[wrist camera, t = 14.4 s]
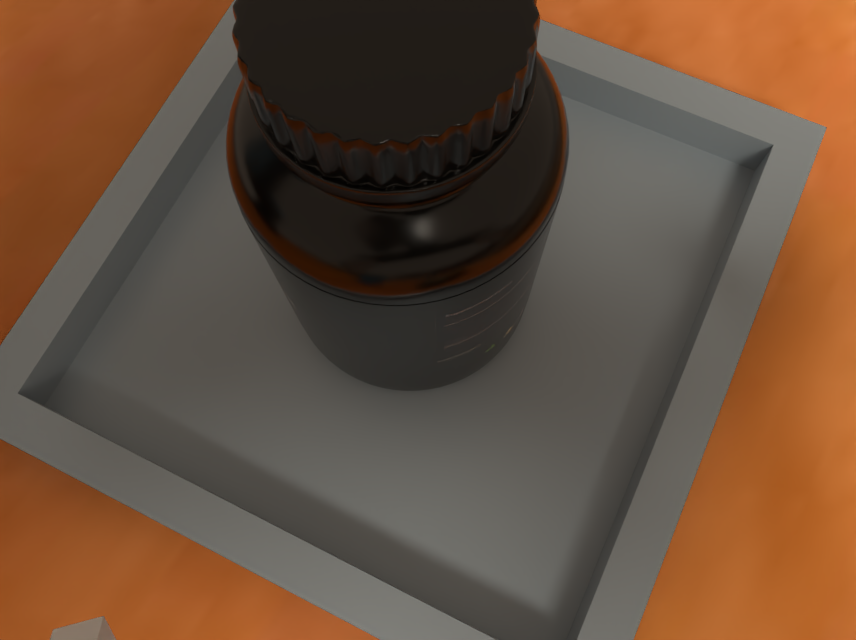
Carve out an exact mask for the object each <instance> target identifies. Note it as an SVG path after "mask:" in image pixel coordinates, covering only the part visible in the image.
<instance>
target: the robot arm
mask: <svg viewBox="0 0 856 640" xmlns="http://www.w3.org/2000/svg"><path fill="white" fill-rule="evenodd" d="M50 640H116V638H115V637H114V635H113V633H112V631H111V629H110V627H109V625H108V623H107V621H106V619H105V618H104V616H102V617H98V618H94V619H90V620H87V621H83V622H79V623H76V624H72V625H68V626H65V627H61V628H57V629H54V630H53V632H52V635H51V638H50Z"/></svg>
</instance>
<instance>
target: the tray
mask: <svg viewBox="0 0 856 640" xmlns="http://www.w3.org/2000/svg"><path fill="white" fill-rule="evenodd" d="M234 2H235V0H234V1H233V3H232V4H231V6H230V7H229V9H228V10H227V12H226V13H225V15H224V16H223V17H222V19H221V20H220V22H219V23H218V25H217V26H216V28H215V29H214V31H213V32H212V34H211V35H210V37H209V38H208V40H207V41H206V43H205V44H204V46H203V47H202V48H201V50H200V51H199V53H198V54H197V56H196V57H195V59H194V60H193V62H192V63H191V65H190V66H189V68H188V69H187V71H186V72H185V74H184V75H183V77H182V78H181V79H180V81H179V82H178V84H177V85H176V87H175V88H174V90H173V91H172V93H171V94H170V96H169V97H168V99H167V100H166V102H165V103H164V105H163V106H162V108H161V109H160V110H159V112H158V113H157V115H156V116H155V118H154V119H153V121H152V122H151V124H150V125H149V127H148V128H147V130H146V131H145V133H144V134H143V136H142V137H141V139H140V140H139V141H138V143H137V144H136V146H135V147H134V149H133V150H132V152H131V153H130V155H129V156H128V158H127V159H126V161H125V162H124V164H123V165H122V167H121V168H120V170H119V171H118V172H117V174H116V175H115V177H114V178H113V180H112V181H111V183H110V184H109V186H108V187H107V189H106V190H105V192H104V193H103V195H102V196H101V198H100V199H99V201H98V202H97V203H96V205H95V206H94V208H93V209H92V211H91V212H90V214H89V215H88V217H87V218H86V220H85V221H84V223H83V224H82V226H81V227H80V229H79V230H78V232H77V233H76V234H75V236H74V237H73V239H72V240H71V242H70V243H69V245H68V246H67V248H66V249H65V251H64V252H63V254H62V255H61V257H60V258H59V260H58V261H57V263H56V264H55V265H54V267H53V268H52V270H51V271H50V273H49V274H48V276H47V277H46V279H45V280H44V282H43V283H42V285H41V286H40V288H39V289H38V291H37V292H36V294H35V295H34V296H33V298H32V299H31V301H30V302H29V304H28V305H27V307H26V308H25V310H24V311H23V313H22V314H21V316H20V317H19V319H18V320H17V322H16V323H15V325H14V326H13V327H12V329H11V330H10V332H9V333H8V335H7V336H6V338H5V339H4V341H3V342H2V344H1V345H0V439H2V440H3V441H5V442H7V443H9V444H11V445H13V446H15V447H17V448H19V449H20V450H22V451H24V452H26V453H28V454H30V455H32V456H34V457H36V458H38V459H39V460H41V461H43V462H45V463H47V464H49V465H51V466H53V467H55V468H56V469H58V470H60V471H62V472H64V473H66V474H68V475H70V476H72V477H73V478H75V479H77V480H79V481H81V482H83V483H85V484H87V485H89V486H91V487H92V488H94V489H96V490H98V491H100V492H102V493H104V494H106V495H108V496H109V497H111V498H113V499H115V500H117V501H119V502H121V503H123V504H125V505H126V506H128V507H130V508H132V509H134V510H136V511H138V512H140V513H142V514H144V515H145V516H147V517H149V518H151V519H153V520H155V521H157V522H159V523H161V524H162V525H164V526H166V527H168V528H170V529H172V530H174V531H176V532H178V533H179V534H181V535H183V536H185V537H187V538H189V539H191V540H193V541H195V542H197V543H198V544H200V545H202V546H204V547H206V548H208V549H210V550H212V551H214V552H215V553H217V554H219V555H221V556H223V557H225V558H227V559H229V560H231V561H232V562H234V563H236V564H238V565H240V566H242V567H244V568H246V569H248V570H250V571H251V572H253V573H255V574H257V575H259V576H261V577H263V578H265V579H267V580H268V581H270V582H272V583H274V584H276V585H278V586H280V587H282V588H284V589H285V590H287V591H289V592H291V593H293V594H295V595H297V596H299V597H301V598H303V599H304V600H306V601H308V602H310V603H312V604H314V605H316V606H318V607H320V608H321V609H323V610H325V611H327V612H329V613H331V614H333V615H335V616H337V617H338V618H340V619H342V620H344V621H346V622H348V623H350V624H352V625H354V626H356V627H357V628H359V629H361V630H363V631H365V632H367V633H369V634H371V635H373V636H374V637H376V638H378V639H380V640H633V639H634V637H635V634H636V631H637V629H638V626H639V623H640V621H641V618H642V616H643V613H644V610H645V608H646V605H647V602H648V600H649V597H650V594H651V592H652V589H653V586H654V584H655V581H656V578H657V576H658V573H659V570H660V568H661V565H662V563H663V560H664V557H665V555H666V552H667V549H668V547H669V544H670V541H671V539H672V536H673V533H674V531H675V528H676V525H677V523H678V520H679V517H680V515H681V512H682V510H683V507H684V504H685V502H686V499H687V496H688V494H689V491H690V488H691V486H692V483H693V480H694V478H695V475H696V472H697V470H698V467H699V464H700V462H701V459H702V457H703V454H704V451H705V449H706V446H707V443H708V441H709V438H710V435H711V433H712V430H713V427H714V425H715V422H716V419H717V417H718V414H719V411H720V409H721V406H722V404H723V401H724V398H725V396H726V393H727V390H728V388H729V385H730V382H731V380H732V377H733V374H734V372H735V369H736V366H737V364H738V361H739V358H740V356H741V353H742V351H743V348H744V345H745V343H746V340H747V337H748V335H749V332H750V329H751V327H752V324H753V321H754V319H755V316H756V313H757V311H758V308H759V305H760V303H761V300H762V298H763V295H764V292H765V290H766V287H767V284H768V282H769V279H770V276H771V274H772V271H773V268H774V266H775V263H776V260H777V258H778V255H779V252H780V250H781V247H782V245H783V242H784V239H785V237H786V234H787V231H788V229H789V226H790V223H791V221H792V218H793V215H794V213H795V210H796V207H797V205H798V202H799V199H800V197H801V194H802V192H803V189H804V186H805V184H806V181H807V178H808V176H809V173H810V170H811V168H812V165H813V162H814V160H815V157H816V154H817V152H818V149H819V146H820V144H821V141H822V139H823V136H824V133H825V131H826V128H827V127H824V126H822V125H819V124H816V123H814V122H811V121H808V120H806V119H803V118H801V117H798V116H795V115H793V114H790V113H787V112H785V111H782V110H779V109H777V108H774V107H771V106H769V105H766V104H763V103H761V102H758V101H755V100H753V99H750V98H747V97H745V96H742V95H740V94H737V93H734V92H732V91H729V90H726V89H724V88H721V87H718V86H716V85H713V84H710V83H708V82H705V81H702V80H700V79H697V78H694V77H692V76H689V75H686V74H684V73H681V72H679V71H676V70H673V69H671V68H668V67H665V66H663V65H660V64H657V63H655V62H652V61H649V60H647V59H644V58H641V57H639V56H636V55H633V54H631V53H628V52H625V51H623V50H620V49H617V48H615V47H612V46H610V45H607V44H604V43H602V42H599V41H596V40H594V39H591V38H588V37H586V36H583V35H580V34H578V33H575V32H572V31H570V30H567V29H564V28H562V27H559V26H556V25H554V24H551V23H549V22H546V21H543V20H541V19H540V26H539V32H538V38H537V51H538V52H539V54H540V55H541V57H542V58H543V59H544V61H545V62H546V64H547V65H548V67H549V69H550V71H551V73H552V74H553V76H554V78H555V80H556V83H557V85H558V88H559V90H560V92H561V95H562V98H563V102H564V105H565V109H566V114H567V120H568V126H569V158H568V164H567V170H566V176H565V181H564V185H563V189H562V192H561V196H560V200H559V203H558V206H557V209H556V213H555V216H554V219H553V222H552V225H551V229H550V232H549V235H548V238H547V241H546V244H545V248H544V251H543V254H542V257H541V260H540V264H539V267H538V270H537V273H536V276H535V279H534V283H533V286H532V289H531V292H530V295H529V299H528V302H527V304H526V307H525V309H524V312H523V315H522V317H521V320H520V322H519V324H518V326H517V328H516V330H515V332H514V333H513V335H512V336H511V338H510V339H509V341H508V342H507V344H506V345H505V346H504V347H503V349H502V350H501V351H500V352H499V353H498V354H497V355H496V356H495V357H494V358H493V359H492V360H491V361H490V362H489V363H487V364H486V365H485V366H484V367H482V368H481V369H479V370H478V371H476V372H475V373H473V374H471V375H470V376H468V377H466V378H464V379H462V380H460V381H457V382H455V383H452V384H449V385H446V386H443V387H439V388H434V389H429V390H420V391H400V390H391V389H386V388H381V387H377V386H374V385H370V384H368V383H365V382H363V381H360V380H358V379H356V378H354V377H352V376H350V375H348V374H347V373H345V372H344V371H342V370H341V369H339V368H338V367H337V366H335V365H334V364H333V363H332V362H331V361H329V360H328V359H327V358H326V357H325V356H324V355H323V354H322V353H321V352H320V350H319V349H318V348H317V347H316V346H315V344H314V343H313V342H312V340H311V339H310V337H309V336H308V334H307V333H306V331H305V329H304V328H303V326H302V325H301V323H300V321H299V319H298V317H297V316H296V314H295V312H294V310H293V308H292V306H291V304H290V303H289V301H288V299H287V297H286V295H285V293H284V292H283V290H282V288H281V286H280V284H279V282H278V281H277V279H276V277H275V275H274V273H273V271H272V270H271V268H270V266H269V264H268V262H267V260H266V259H265V257H264V255H263V253H262V251H261V249H260V248H259V246H258V244H257V242H256V240H255V238H254V237H253V235H252V233H251V231H250V229H249V227H248V225H247V223H246V221H245V219H244V217H243V215H242V213H241V211H240V208H239V206H238V203H237V201H236V198H235V195H234V193H233V190H232V186H231V183H230V179H229V175H228V168H227V161H226V133H227V124H228V119H229V114H230V109H231V106H232V103H233V100H234V96H235V94H236V91H237V89H238V87H239V84H240V82H241V80H242V78H243V76H242V74H241V71H240V69H239V66H238V61H237V53H238V52H237V49H236V47H235V44H234V41H233V37H232V30H233V26H234V23H235V22H236V21H235V17H234V14H233V4H234Z"/></svg>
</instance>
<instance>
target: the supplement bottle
mask: <svg viewBox="0 0 856 640" xmlns="http://www.w3.org/2000/svg"><path fill="white" fill-rule="evenodd" d="M536 2H537V0H235V2H234V4H233V14H234V17H235V21H236V22H235V23H234V26H233V30H232V37H233V41H234V44H235V47H236V49H237V52H238V53H237V61H238V66H239V69H240V71H241V74H242V76H243V78H242V80H241V82H240V84H239V87H238V89H237V91H236V94H235V96H234V100H233V103H232V106H231V109H230V114H229V119H228V124H227V133H226V161H227V168H228V175H229V179H230V183H231V186H232V190H233V193H234V195H235V198H236V201H237V203H238V206H239V208H240V211H241V213H242V215H243V217H244V219H245V221H246V223H247V225H248V227H249V229H250V231H251V233H252V235H253V237H254V238H255V240H256V242H257V244H258V246H259V248H260V249H261V251H262V253H263V255H264V257H265V259H266V260H267V262H268V264H269V266H270V268H271V270H272V271H273V273H274V275H275V277H276V279H277V281H278V282H279V284H280V286H281V288H282V290H283V292H284V293H285V295H286V297H287V299H288V301H289V303H290V304H291V306H292V308H293V310H294V312H295V314H296V316H297V317H298V319H299V321H300V323H301V325H302V326H303V328H304V329H305V331H306V333H307V334H308V336H309V337H310V339H311V340H312V342H313V343H314V344H315V346H316V347H317V348H318V349H319V350H320V352H321V353H322V354H323V355H324V356H325V357H326V358H327V359H328V360H329V361H331V362H332V363H333V364H334V365H335V366H337V367H338V368H339V369H341V370H342V371H344V372H345V373H347V374H348V375H350V376H352V377H354V378H356V379H358V380H360V381H363V382H365V383H368V384H370V385H374V386H377V387H381V388H386V389H391V390H400V391H420V390H429V389H434V388H439V387H443V386H446V385H449V384H452V383H455V382H457V381H460V380H462V379H464V378H466V377H468V376H470V375H471V374H473V373H475V372H476V371H478V370H479V369H481V368H482V367H484V366H485V365H486V364H487V363H489V362H490V361H491V360H492V359H493V358H494V357H495V356H496V355H497V354H498V353H499V352H500V351H501V350H502V349H503V347H504V346H505V345H506V344H507V342H508V341H509V339H510V338H511V336H512V335H513V333H514V332H515V330H516V328H517V326H518V324H519V322H520V320H521V317H522V315H523V312H524V309H525V307H526V304H527V302H528V299H529V295H530V292H531V289H532V286H533V283H534V279H535V276H536V273H537V270H538V267H539V264H540V260H541V257H542V254H543V251H544V248H545V244H546V241H547V238H548V235H549V232H550V229H551V225H552V222H553V219H554V216H555V213H556V209H557V206H558V203H559V200H560V196H561V192H562V189H563V185H564V181H565V176H566V170H567V164H568V158H569V126H568V120H567V114H566V109H565V105H564V102H563V98H562V95H561V92H560V90H559V88H558V85H557V83H556V80H555V78H554V76H553V74H552V73H551V71H550V69H549V67H548V65H547V64H546V62H545V61H544V59H543V58H542V57H541V55H540V54H539V52H538V51H537V38H538V32H539V26H540V15H539V12H538V9H537V7H536Z"/></svg>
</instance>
